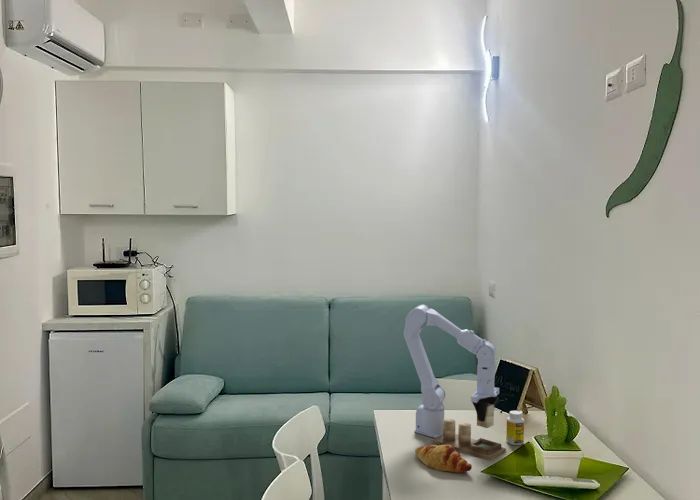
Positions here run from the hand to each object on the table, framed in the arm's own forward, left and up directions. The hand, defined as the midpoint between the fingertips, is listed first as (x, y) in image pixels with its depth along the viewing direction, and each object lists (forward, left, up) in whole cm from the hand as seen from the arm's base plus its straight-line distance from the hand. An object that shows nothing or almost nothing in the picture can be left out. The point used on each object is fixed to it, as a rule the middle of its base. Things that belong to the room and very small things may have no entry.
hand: (484, 419), depth 218 cm
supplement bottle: (+9, +4, -7) cm, 12 cm away
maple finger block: (0, 0, -2) cm, 2 cm away
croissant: (+3, -28, -7) cm, 29 cm away
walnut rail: (0, -10, -7) cm, 12 cm away
